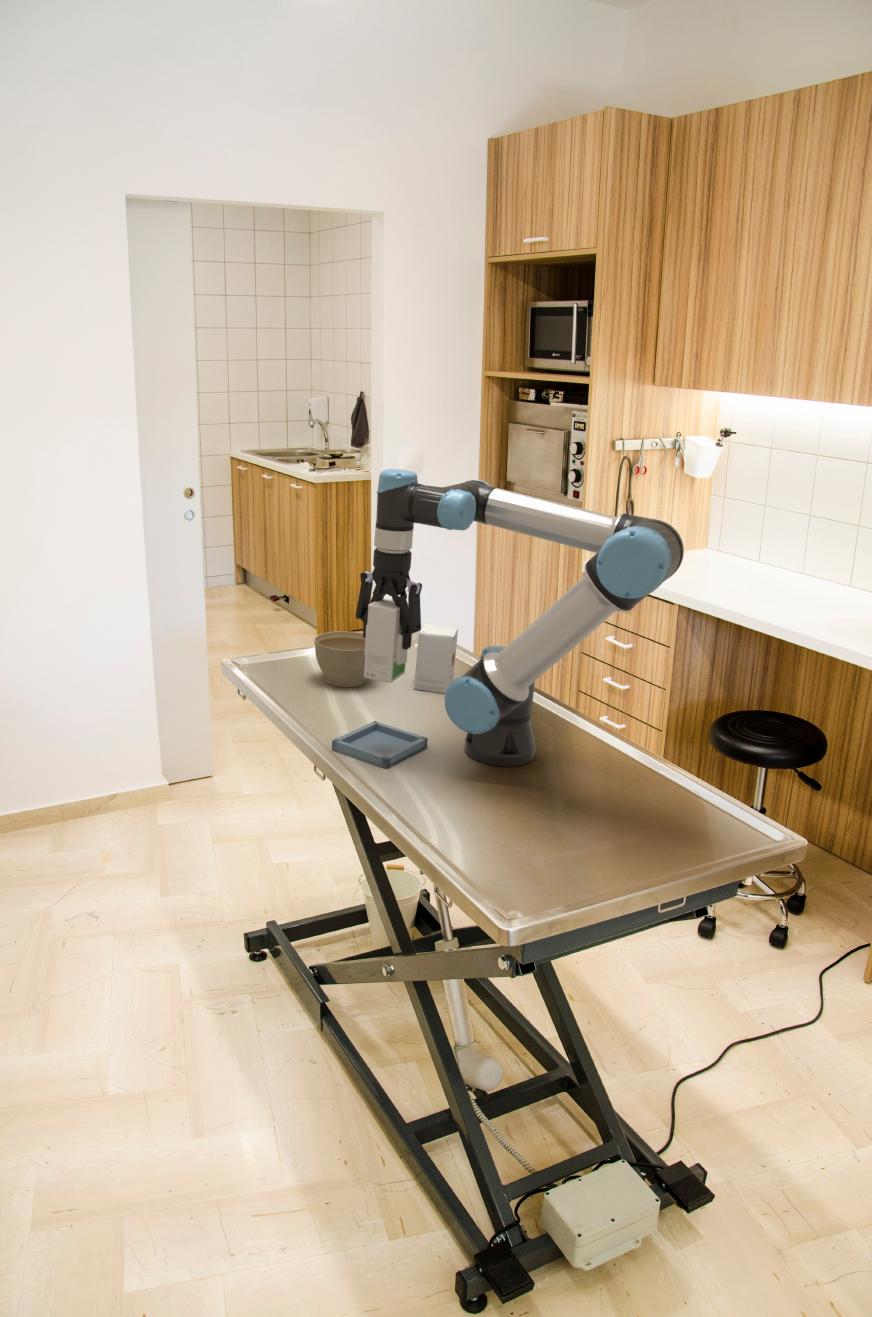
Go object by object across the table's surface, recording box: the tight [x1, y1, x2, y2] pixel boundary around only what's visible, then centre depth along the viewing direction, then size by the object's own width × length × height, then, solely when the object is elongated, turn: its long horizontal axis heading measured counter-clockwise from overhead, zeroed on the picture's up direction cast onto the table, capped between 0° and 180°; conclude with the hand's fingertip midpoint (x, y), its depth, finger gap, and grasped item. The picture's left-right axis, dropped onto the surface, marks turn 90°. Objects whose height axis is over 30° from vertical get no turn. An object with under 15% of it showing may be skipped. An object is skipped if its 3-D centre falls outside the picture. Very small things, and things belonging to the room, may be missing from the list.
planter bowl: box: [313, 630, 366, 688], centre depth 245 cm, size 16×16×11 cm
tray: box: [331, 720, 429, 770], centre depth 208 cm, size 14×15×2 cm
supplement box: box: [413, 623, 459, 694], centre depth 246 cm, size 9×9×15 cm
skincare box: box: [364, 597, 409, 684], centre depth 201 cm, size 8×7×16 cm
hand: (385, 658), depth 202 cm, fingers closed on skincare box, 7 cm apart
